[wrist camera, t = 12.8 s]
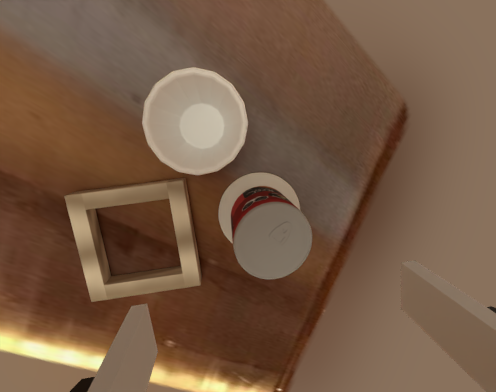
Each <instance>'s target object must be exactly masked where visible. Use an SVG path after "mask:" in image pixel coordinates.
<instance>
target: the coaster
mask: <svg viewBox="0 0 496 392" xmlns="http://www.w3.org/2000/svg"><path fill="white" fill-rule="evenodd" d="M257 186H267V187H272V188H274V189H276V190H278V191H279V192H281V193H282V194H283V195H284V196H285V197H286V198H287V199H288V200H289V201H290V202H292V203H293V204H294V205H295V206H296V207H297V208H298V209H299V210H300V204H299V200H298V197H297V195H296V193H295V191H294V190H293V188H292V187H291V186H290V185H289V184H288V183H287V182H286V181H285V180H283V179H282V178H280V177H278V176H276V175H273V174H270V173H265V172H255V173H249V174H246V175H244V176H242V177H240V178H238V179H236V180H235V181H234V182H233V183H231V184H230V185H229V187H228V188H227V189H226V190H225V192H224V194H223V196H222V198H221V201H220V204H219V213H218V215H219V223H220V226H221V229H222V231H223V233H224V234H225V236H226V237H227V239H228V240H229V241H230V242H231V243H233V240H232V228H231V211H232V207H233V205H234V203H235V201H236V200H237V198H238V197H239V196H240V195H241V194H242V193H243V192H245V191H246V190H248V189H250V188H253V187H257Z"/></svg>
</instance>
